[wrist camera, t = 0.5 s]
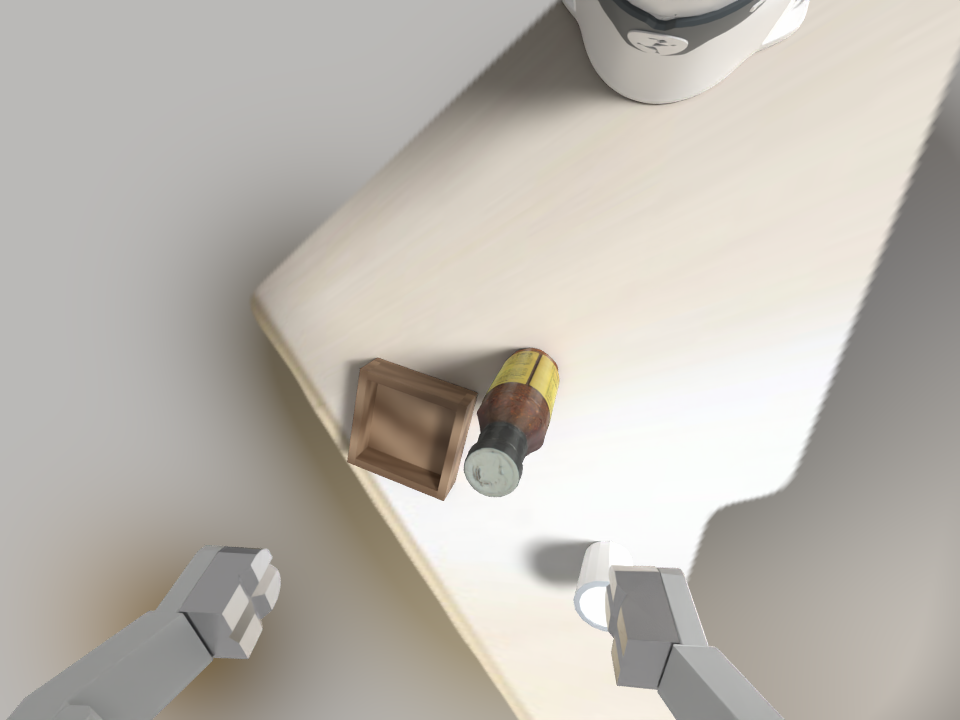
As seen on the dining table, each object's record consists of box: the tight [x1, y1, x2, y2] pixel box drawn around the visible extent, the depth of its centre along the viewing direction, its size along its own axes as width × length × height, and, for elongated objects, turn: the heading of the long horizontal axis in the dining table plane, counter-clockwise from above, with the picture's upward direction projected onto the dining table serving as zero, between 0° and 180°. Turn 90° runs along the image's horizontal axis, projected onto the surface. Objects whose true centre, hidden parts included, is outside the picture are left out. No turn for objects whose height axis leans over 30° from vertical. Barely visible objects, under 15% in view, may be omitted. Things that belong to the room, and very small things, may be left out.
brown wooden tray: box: [347, 358, 478, 501], centre depth 54 cm, size 13×13×4 cm
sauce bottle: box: [464, 348, 559, 497], centre depth 40 cm, size 6×6×20 cm
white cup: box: [574, 541, 633, 632], centre depth 51 cm, size 7×7×7 cm
